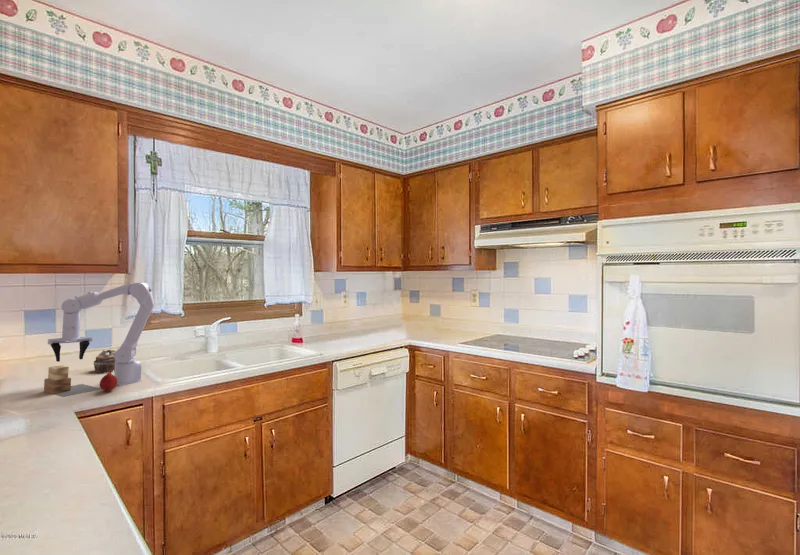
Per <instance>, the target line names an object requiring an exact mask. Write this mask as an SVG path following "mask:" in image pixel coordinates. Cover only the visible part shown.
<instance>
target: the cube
mask: <svg viewBox="0 0 800 555" xmlns="http://www.w3.org/2000/svg"><path fill="white" fill-rule="evenodd" d="M69 369H70V368H69V366H66V365H55V366H54V365H53V366H50V367H48V370H47V371H48V372H47V373H48V374H47V375H48V376H47V378H48V379H51V380H60V379H66V378H68V377H69V371H70V370H69Z"/></svg>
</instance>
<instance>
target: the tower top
mask: <svg viewBox="0 0 800 555" xmlns="http://www.w3.org/2000/svg"><path fill="white" fill-rule="evenodd" d="M70 384H71V385H72V377H69V376H68V378H66V379H60V380H51V379H48V377H47V378H44V383H43V386H44V385H45V386H49V387H53V388H54V387H59V386H64V385H70Z"/></svg>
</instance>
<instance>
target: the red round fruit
mask: <svg viewBox="0 0 800 555" xmlns="http://www.w3.org/2000/svg"><path fill="white" fill-rule="evenodd" d="M117 386H118V385H117V378H116V377H115V376H114V374H112V372H108V373H106V374H105V375H104V376H103V377H102V378H101V379H100V381H99V388H101V389H100V390H101V391H105V392H106V393H107V392H108V393H109V392H111V391H113V390H114V389H115V388H116V387H117Z"/></svg>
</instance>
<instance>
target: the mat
mask: <svg viewBox="0 0 800 555" xmlns="http://www.w3.org/2000/svg"><path fill="white" fill-rule="evenodd" d="M99 390H102V389H101V387H98V386H92V385H90V384H89V385H88V384H84V383H81V384H75V385H74V384H73V385H71V391H66V392H61V393H56V394H53V396H58V397H62V398H65V397H71V396H74V395H75V396H76V395H80V394H85V393H89V392H94V391H99ZM42 392H43V393H45V392H44V390H43V391H42Z"/></svg>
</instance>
